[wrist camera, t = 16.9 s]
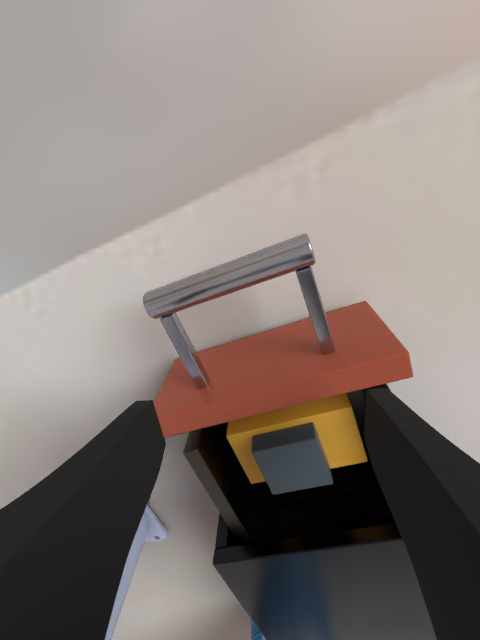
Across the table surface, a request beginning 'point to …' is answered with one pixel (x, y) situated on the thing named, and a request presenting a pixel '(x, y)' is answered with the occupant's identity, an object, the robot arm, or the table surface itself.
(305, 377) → the cabinet drawer
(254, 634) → the beverage bottle
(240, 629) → the table surface
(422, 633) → the drawer cabinet
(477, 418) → the table surface
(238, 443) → the yellow and grey block
